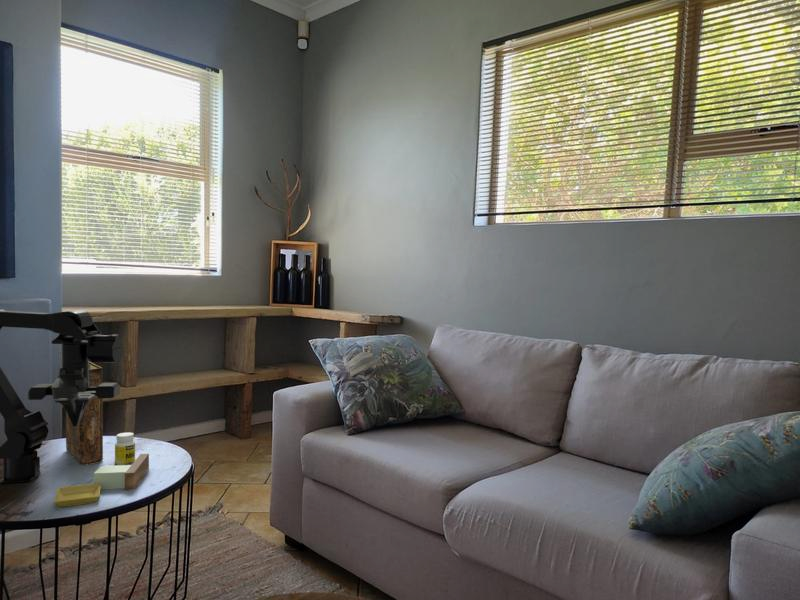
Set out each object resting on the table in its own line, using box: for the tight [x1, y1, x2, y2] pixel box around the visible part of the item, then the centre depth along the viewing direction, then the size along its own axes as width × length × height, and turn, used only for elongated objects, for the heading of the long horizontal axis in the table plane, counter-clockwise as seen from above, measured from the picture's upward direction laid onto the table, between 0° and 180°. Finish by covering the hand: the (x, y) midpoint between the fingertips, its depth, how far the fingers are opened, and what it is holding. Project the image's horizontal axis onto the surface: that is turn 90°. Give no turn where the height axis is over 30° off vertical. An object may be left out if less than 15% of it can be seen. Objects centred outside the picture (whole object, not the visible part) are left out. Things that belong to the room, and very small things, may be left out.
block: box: [93, 465, 131, 490], centre depth 135 cm, size 7×5×4 cm
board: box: [124, 453, 150, 491], centre depth 138 cm, size 2×14×4 cm, turn 11°
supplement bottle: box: [114, 432, 136, 466], centre depth 147 cm, size 5×5×8 cm
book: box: [65, 361, 104, 466], centre depth 154 cm, size 16×6×25 cm, turn 43°
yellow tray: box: [53, 482, 101, 508], centre depth 126 cm, size 9×9×2 cm
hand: (75, 426), depth 137 cm, fingers closed
